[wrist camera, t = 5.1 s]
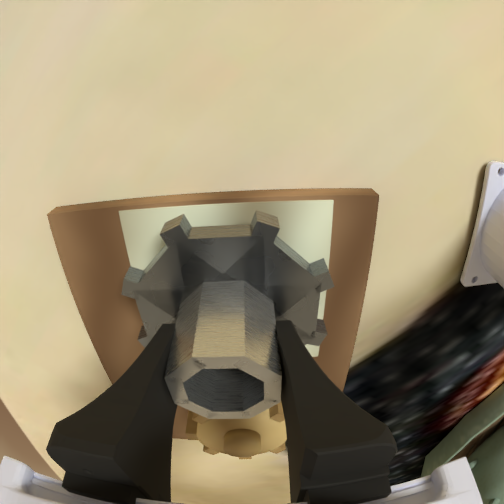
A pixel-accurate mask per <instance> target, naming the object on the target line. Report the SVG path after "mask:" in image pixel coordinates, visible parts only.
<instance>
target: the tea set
mask: <svg viewBox="0 0 504 504" xmlns="http://www.w3.org/2000/svg"><path fill="white" fill-rule="evenodd" d="M462 457H466V458H467V461H468V463H469V466H470V468H471V471H472V474H473V476H474V479H475V482H476V484H477V487H478V490H479V493H480V496H481V499H482V502H483V504H504V383H503V384H502V385H501V386H500V387H499V388H498V389H497V390H496V391H494V392H493V393H492V394H491V395H490V396H489V397H488V398H486V399H485V400H484V401H483V402H482V403H480V404H479V405H478V406H477V407H475V408H474V409H473V410H472V411H470V412H469V413H468V414H467V415H465V416H464V418H463V419H462V420H461V421H460V422H459V423H458V424H457V425H456V426H455V427H454V429H453V430H452V431H451V432H450V433H449V434H448V435H447V436H446V437H445V438H444V439H443V440H442V441H441V442H440V443H439V444H438V445H437V446H436V447H435V448H434V449H433V450H432V451H431V452H430V453H429V454H428V455H427V456H426V457H425V461H424V466H423V470H422V474H421V478H422V477H425V476H428V475H431V473H432V472H433V471H434V470H435V469H436V468H437V467H439V466H441V465H443V464H446V463H448V462H451V461H454V460H456V459H459V458H462Z"/></svg>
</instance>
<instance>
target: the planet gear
mask: <svg viewBox="0 0 504 504" xmlns="http://www.w3.org/2000/svg"><path fill="white" fill-rule="evenodd" d="M279 230H280V226H279V222H278V217H276V216H273V215H270V214H267V213H264V212H261V211H258V210H256V211H255V214H254V216H253V219H252V221H251V223H250V224H241V225H220V226H201V227H192V226H191V225H190V223H189V221H188V220H187V218H186V216H185V215H184V214H182V215H180V216H178V217H176V218H174V219H172V220H170V221H167V222H165V224H164V226H163V228H162V230H161V232H160V236H161V237H162V239H163V240H164V242H165V246H164V247H163V248H162V249H161V250H160V252H159V253H158V254H157V255H156V256H155V257H154V259H153V260H152V261H151V262H150V263H149V265H148V266H147V267H146V268H145V269H144V270H141V269H138V268H134V267H131V266H130V267H129V269H128V271H127V273H126V275H125V277H124V280H123V287H122V294H121V295H124V296H127V297H130V298H133V299H135V300H136V303H137V306H138V310H139V313H140V316H141V319H142V322H143V326H142V327H141V330H140V333H139V336H138V339H137V340H138V341H139V342H140V343H141V344H142V345H143V347H144V348H145V347H146V346H147V345H148V343H149V342H150V341H151V339H152V338H153V336H154V335H155V334H156V332H157V331H158V329H159V328H160V327H161V325H162V324H176V325H175V330H174V335H173V340H172V344H171V348H170V353H169V358H168V363H167V368H166V373H165V381H166V383H167V386H168V389H169V391H170V394H171V396H172V399H173V401H174V403H175V404H177V405H179V406H181V407H183V408H185V409H188V410H190V411H192V412H194V413H196V414H199V415H201V416H203V417H206V418H208V419H248V418H252V417H254V416H256V415H258V414H260V413H261V412H263V411H265V410H267V409H269V408H271V407H273V406H274V405H276V404H278V403H280V401H281V383H282V373H281V364H280V355H279V346H278V338H277V331H276V321H280V320H291V321H292V322H293V325H294V327H295V329H296V331H297V333H298V335H299V337H300V338H301V340H302V342H303V344H304V345H306V344H310V345H315V346H319V345H320V344H321V343H322V341H323V340H324V338H325V337H326V336H327V330H326V326H325V323H324V320H322V319H317V317H318V308H319V300H320V292H323V291H325V290H328V289H330V288H333V287H335V286H334V284H333V281H332V278H331V276H330V273H329V270H328V268H327V265H326V262H325V260H324V258H322V259H320V260H317V261H315V262H312V263H308V262H307V261H306V260H305V259H304V258H303V257H301V256H300V255H299V254H298V253H297V252H296V251H294V250H293V249H292V248H291V247H290V246H289V245H287V244H286V243H285V242H284V241H283V240H281V239H280V238H279V237H278V236H277V234H278V232H279Z"/></svg>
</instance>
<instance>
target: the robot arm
mask: <svg viewBox="0 0 504 504" xmlns="http://www.w3.org/2000/svg"><path fill="white" fill-rule="evenodd" d="M499 168H500V171H499V173H498V170H499ZM473 277H474V278H473ZM460 281H461V283H462V285H463V286H465V287H468V286H476V285H483V284H490V283H499V284H500V285H501V286H502V287H503V289H504V162H498V161H490V162H488V164H487V166H486V170H485V177H484V183H483V188H482V194H481V199H480V204H479V209H478V214H477V219H476V223H475V227H474V232H473V236H472V240H471V244H470V247H469V251H468V255H467V258H466V262H465V265H464V269H463V272H462V275H461V279H460ZM175 325H176V324H162V325H161V327H160V328H159V329H158V331H157V332H156V334H155V335H154V336H153V338H152V339H151V341H150V342H149V343H148V345H147V346H146V347H145V349H144V350H143V351H142V352H141V354H140V355H139V356H138V358H137V359H136V360H135V361H134V362H133V364H132V365H131V366H130V367H129V368H128V369H127V370H126V372H125V373H124V374H123V375H122V376H121V377H120V378H119V379H118V380H117V381H116V382H115V383H114V384H113V385H112V386H111V387H110V388H108V389H107V390H106V391H105V392H104V393H102V394H101V395H100V396H99V397H98V398H96V399H95V400H94V401H92V402H91V403H89V404H88V405H87V406H85V407H84V408H82V409H81V410H79V411H77V412H76V413H74V414H72V415H70V416H69V417H67V418H65V419H63V420H61V421H59V422H57V423H56V425H55V427H54V429H53V432H52V434H51V437H50V440H49V443H48V446H47V449H46V450H47V452H48V454H49V456H50V457H51V458H52V459H53V460H54V461H55V462H56V463H57V464H58V465H59V466H60V467H62V468H63V469H64V470H65V471H66V473H65V476H64V479H63V481H61V480H58V479H54V478H51V477H48V476H45V475H42V474H39V473H36V472H34V471H33V470H32V469H31V468H30V467H29V466H28V465H26V464H25V463H23V462H21V461H18V460H16V459H13V458H11V457H8V456H4V457H3V460H2V462H1V465H0V504H182V503H172V502H171V487H170V478H171V449H172V435H173V425H174V419H175V414H176V410H177V404H175V403H174V401H173V399H172V396H171V394H170V391H169V389H168V386H167V383H166V381H165V373H166V368H167V363H168V358H169V353H170V348H171V344H172V340H173V335H174V330H175ZM276 331H277V338H278V346H279V355H280V364H281V373H282V383H281V402H282V407H283V413H284V418H285V425H286V435H287V447H288V461H289V477H290V495H291V503H289V504H483V502H482V499H481V496H480V493H479V490H478V487H477V484H476V482H475V479H474V476H473V474H472V471H471V468H470V466H469V463H468V461H467V458H466V457H462V458H459V459H456V460H454V461H451V462H448V463H446V464H443V465H441V466H439V467H437V468H436V469H435V470H434V471H433V472H432V473H431V475H428V476H425V477H422V478H419V479H415V480H412V481H408V482H405V483H401V484H398V485H394V486H390V483H389V479H388V475H389V474H390V472H389V468H388V464H389V462H390V461H391V460H392V458H393V457H394V456H395V454H396V452H397V446H396V442H395V440H394V437H393V435H392V433H391V431H390V430H389V428H388V426H387V425H386V424H384V423H383V422H381V421H379V420H378V419H376V418H375V417H373V416H372V415H370V414H369V413H367V412H366V411H365V410H363V409H362V408H361V407H359V406H358V405H357V404H356V403H354V402H353V401H352V400H351V399H350V398H349V397H347V396H346V395H345V394H344V393H343V392H342V391H341V390H340V389H339V388H338V387H337V386H336V385H335V384H334V383H333V382H332V381H331V380H330V379H329V378H328V376H327V375H326V374H325V373H324V372H323V370H322V369H321V368H320V367H319V365H318V364H317V363H316V361H315V360H314V359H313V357H312V356H311V354H310V353H309V351H308V350H307V348H306V347H305V345H304V344H303V342H302V340H301V338H300V337H299V335H298V333H297V331H296V329H295V327H294V325H293V322H292V321H291V320H280V321H276Z"/></svg>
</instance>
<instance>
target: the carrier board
mask: <svg viewBox="0 0 504 504" xmlns="http://www.w3.org/2000/svg"><path fill="white" fill-rule="evenodd" d="M378 202H379V195H378V194H377V193H376V192H375V191H374V190H373V189H358V188H339V189H280V190H252V191H231V192H212V193H196V194H182V195H168V196H156V197H144V198H133V199H123V200H113V201H103V202H94V203H86V204H77V205H69V206H61V207H56V208H55V209H53V210H52V211H51V212H50V213H48V214H47V216H48V220H49V223H50V227H51V231H52V234H53V238H54V241H55V244H56V248H57V251H58V254H59V257H60V260H61V263H62V266H63V269H64V272H65V275H66V278H67V281H68V284H69V286H70V289H71V292H72V295H73V297H74V300H75V302H76V305H77V308H78V310H79V313H80V315H81V318H82V320H83V322H84V325H85V327H86V329H87V332H88V334H89V336H90V339H91V341H92V343H93V345H94V348H95V350H96V352H97V354H98V356H99V358H100V361H101V363H102V365H103V367H104V369H105V371H106V373H107V375H108V377H109V379H110V381H111V383H112V385H113V384H114V383H115V382H116V381H117V380H118V379H119V378H120V377H121V376H122V375H123V374H124V373H125V372H126V370H127V369H128V368H129V367H130V366H131V365H132V364H133V362H134V361H135V360H136V359H137V358H138V356H139V355H140V354H141V352H142V351H143V350H144V349H145V348H144V347H143V345H142V344H141V343H140V342H139V341H138V340H137V339H138V336H139V333H140V330H141V327H142V326H143V322H142V319H141V316H140V313H139V310H138V306H137V303H136V300H135V299H133V298H130V297H127V296H124V295H121V294H122V287H123V280H124V277H125V275H126V273H127V271H128V269H129V267H130V266H131V267H134V268H138V269H141V270H144V269H145V268H146V267H147V266H148V265H149V263H150V262H151V261H152V260H153V259H154V257H155V256H156V255H157V254H158V253H159V252H160V250H161V249H162V248H163V247H164V246H165V242H164V240H163V239H162V237H161V236H160V232H161V230H162V228H163V226H164V224H165V222H167V221H170V220H172V219H174V218H176V217H178V216H180V215H182V214H184V215H185V216H186V218H187V220H188V221H189V223H190V225H191V226H192V227H201V226H220V225H241V224H250V223H251V221H252V219H253V216H254V214H255V211H256V210H258V211H261V212H264V213H267V214H270V215H273V216H276V217H278V222H279V226H280V230H279V232H278V234H277V236H278V237H279V238H280V239H281V240H283V241H284V242H285V243H286V244H287V245H289V246H290V247H291V248H292V249H293V250H294V251H296V252H297V253H298V254H299V255H300V256H301V257H303V258H304V259H305V260H306V261H307V262H308V263H312V262H315V261H317V260H320V259H322V258H324V260H325V262H326V265H327V268H328V270H329V273H330V276H331V278H332V281H333V284H334V286H335V287H333V288H330V289H328V290H325V291H323V292H320V300H319V308H318V317H317V319H322V320H324V323H325V326H326V330H327V336H326V337H325V338H324V340H323V341H322V343H321V344H320V345H319V346H315V345H310V344H306V345H305V347H306V348H307V350H308V351H309V353H310V354H311V356H312V357H313V359H314V360H315V361H316V363H317V364H318V365H319V367H320V368H321V369H322V370H323V372H324V373H325V374H326V375H327V376H328V378H329V379H330V380H331V381H332V382H333V383H334V384H335V385H336V386H337V387H338V388H339V389H340V390H341V391H342V392H343V389H344V385H345V381H346V377H347V373H348V370H349V366H350V361H351V357H352V353H353V349H354V345H355V340H356V336H357V331H358V326H359V322H360V317H361V312H362V307H363V302H364V296H365V291H366V286H367V280H368V274H369V268H370V262H371V255H372V249H373V242H374V235H375V227H376V219H377V211H378ZM172 438H180V439H188V440H199V441H200V442H201V443H202V444H203V445H204V449H203V451H204V452H207V453H209V454H212V455H214V454H217V453H219V452H221V453H225V454H229V455H231V456H235V457H239V459H251V456H254V455H256V454H261V453H265V452H268V451H270V452H273V453H276V454H277V453H279V452H281V451H283V450H286V448H285V441H286V440H287V435H286V425H285V418H284V413H283V407H282V402H281V401H280V403H278V404H276V405H274V406H273V407H271V408H269V409H267V410H265V411H263V412H261V413H260V414H258V415H256V416H254V417H252V418H248V419H208V418H206V417H203V416H201V415H199V414H196V413H194V412H192V411H190V410H188V409H185V408H183V407H181V406H179V405H177V410H176V414H175V419H174V425H173V435H172Z"/></svg>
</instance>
